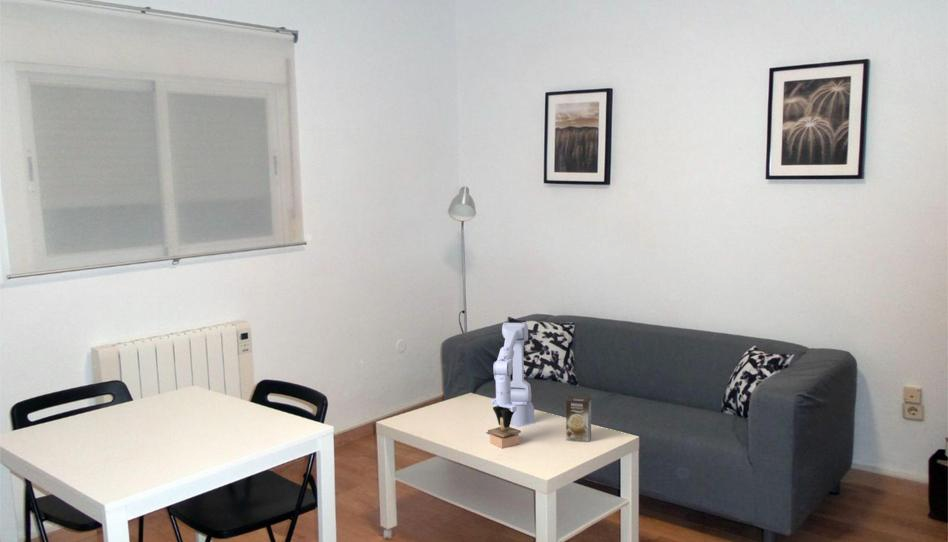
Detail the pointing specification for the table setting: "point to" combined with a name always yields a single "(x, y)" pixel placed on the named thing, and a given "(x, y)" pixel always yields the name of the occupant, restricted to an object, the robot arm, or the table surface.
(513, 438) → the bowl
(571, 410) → the coffee box
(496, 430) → the lid
